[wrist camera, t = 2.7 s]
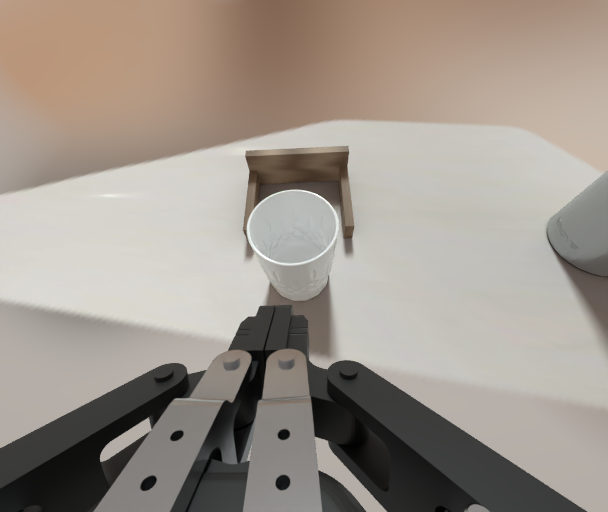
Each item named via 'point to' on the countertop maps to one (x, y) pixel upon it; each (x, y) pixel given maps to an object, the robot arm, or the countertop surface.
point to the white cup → (294, 241)
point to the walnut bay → (300, 174)
